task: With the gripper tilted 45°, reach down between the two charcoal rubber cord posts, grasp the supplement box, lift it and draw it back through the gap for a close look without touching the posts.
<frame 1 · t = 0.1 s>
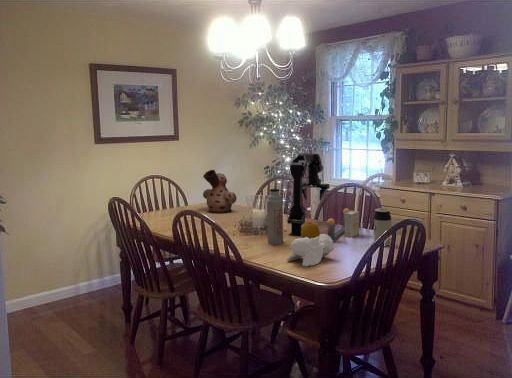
hand: (313, 200, 293), 15 cm above the table, tool pointing down, fingers open, 9 cm apart
supplement box: (351, 236, 264), on the table
thermos bottle: (275, 242, 254), on the table
cherub figurine: (310, 261, 220), on the table
apple: (310, 244, 249), on the table
vessel: (217, 212, 340), on the table
travel mug: (382, 245, 244), on the table
cord guide: (339, 234, 267), on the table
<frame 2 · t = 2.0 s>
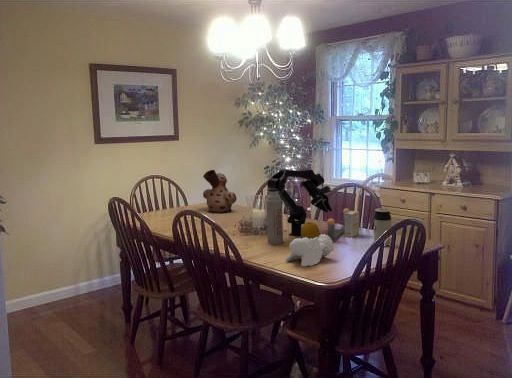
hand: (329, 211, 269), 12 cm above the table, tool tilted 40°, fingers open, 9 cm apart
thermos bottle: (275, 242, 254), on the table, touching arm
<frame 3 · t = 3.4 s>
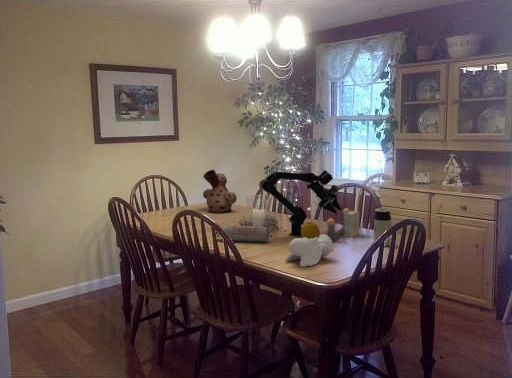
hand: (338, 211, 266), 13 cm above the table, tool tilted 45°, fingers open, 9 cm apart
thermos bottle: (267, 234, 254), point 4 cm above the table
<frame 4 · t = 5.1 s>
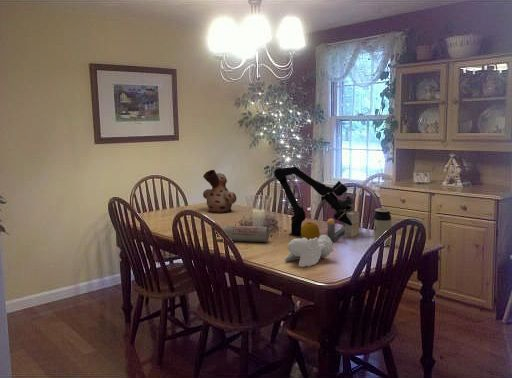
hand: (354, 223, 263), 7 cm above the table, tool tilted 45°, fingers open, 9 cm apart
supplement box: (351, 236, 264), on the table, touching gripper
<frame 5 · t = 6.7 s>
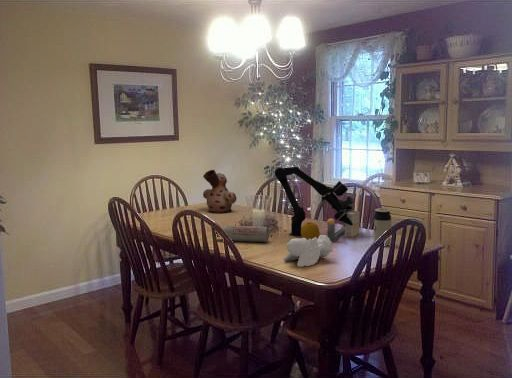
hand: (354, 223, 262), 7 cm above the table, tool tilted 45°, fingers closed on supplement box, 9 cm apart
supplement box: (351, 235, 264), on the table, touching gripper
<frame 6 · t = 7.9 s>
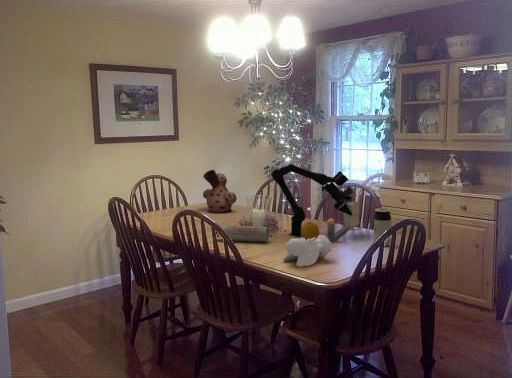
hand: (354, 213, 262), 12 cm above the table, tool tilted 45°, fingers closed on supplement box, 9 cm apart
supplement box: (351, 226, 264), point 5 cm above the table, touching gripper
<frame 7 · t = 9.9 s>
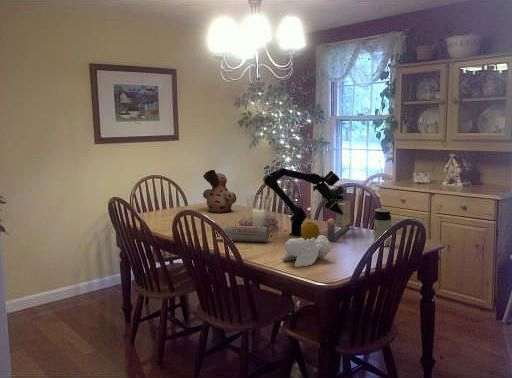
hand: (345, 212, 264), 12 cm above the table, tool tilted 45°, fingers closed on supplement box, 8 cm apart
supplement box: (342, 225, 266), point 5 cm above the table, touching gripper
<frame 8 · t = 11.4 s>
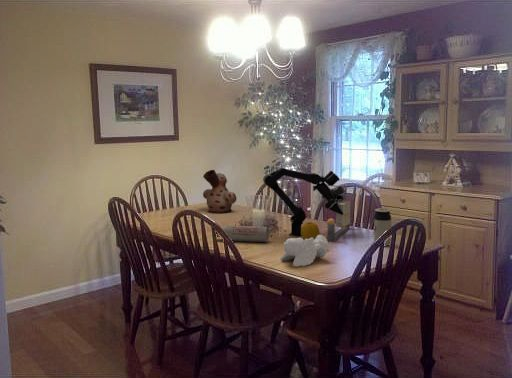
hand: (345, 212, 264), 12 cm above the table, tool tilted 45°, fingers closed on supplement box, 8 cm apart
supplement box: (342, 225, 266), point 5 cm above the table, touching gripper
at the end: the gripper is holding supplement box; supplement box point 5.0 cm above the table; cord guide moved 0.0 cm from its start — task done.
